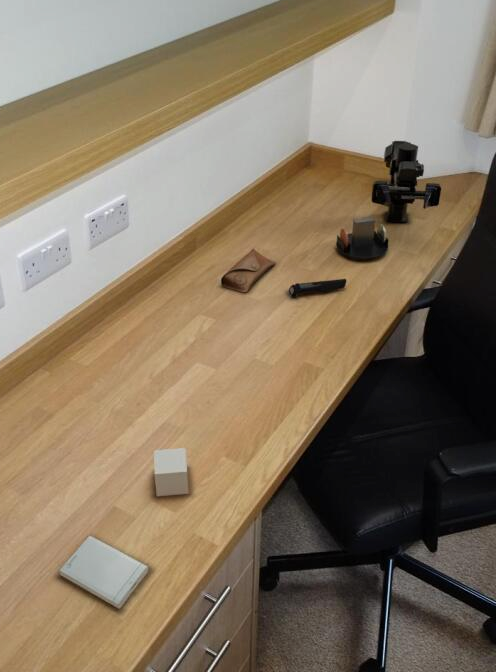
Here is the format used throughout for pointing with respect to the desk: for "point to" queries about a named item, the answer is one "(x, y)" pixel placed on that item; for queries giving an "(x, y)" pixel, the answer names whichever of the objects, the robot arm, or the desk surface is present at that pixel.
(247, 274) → the sunglasses case
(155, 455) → the light grey cube
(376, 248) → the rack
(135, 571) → the hard drive
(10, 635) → the desk surface
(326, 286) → the electric trimmer
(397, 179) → the robot arm
